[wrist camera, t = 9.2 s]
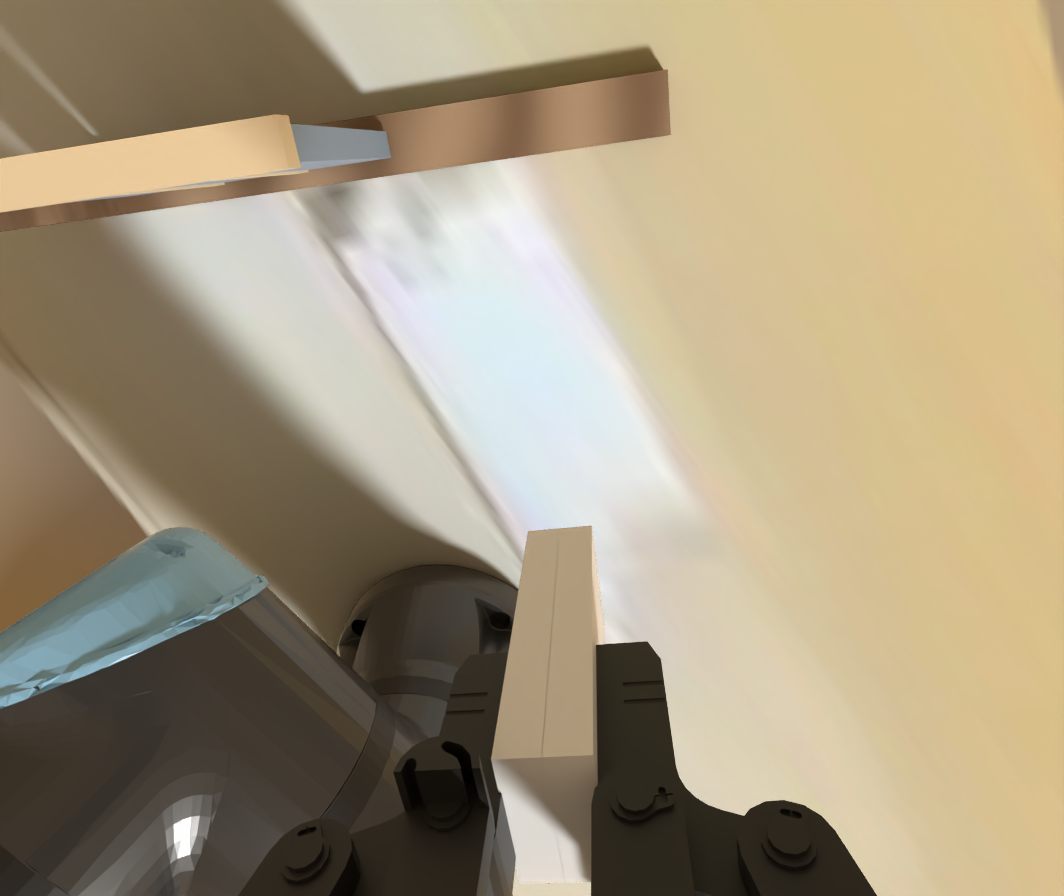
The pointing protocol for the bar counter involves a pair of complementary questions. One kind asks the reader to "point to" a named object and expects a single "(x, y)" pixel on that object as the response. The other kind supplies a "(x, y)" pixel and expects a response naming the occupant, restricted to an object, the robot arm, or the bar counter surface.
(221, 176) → the panel
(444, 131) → the brown wooden rack
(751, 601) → the bar counter surface
